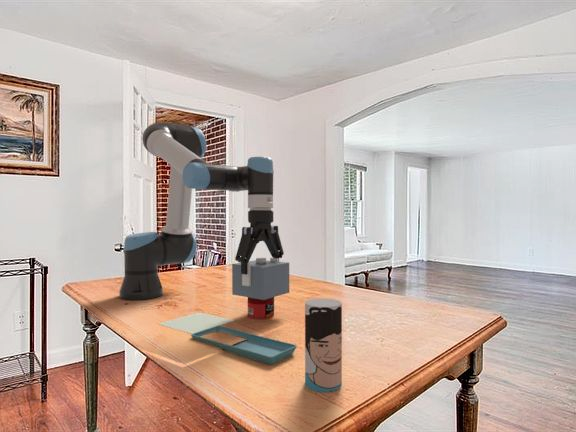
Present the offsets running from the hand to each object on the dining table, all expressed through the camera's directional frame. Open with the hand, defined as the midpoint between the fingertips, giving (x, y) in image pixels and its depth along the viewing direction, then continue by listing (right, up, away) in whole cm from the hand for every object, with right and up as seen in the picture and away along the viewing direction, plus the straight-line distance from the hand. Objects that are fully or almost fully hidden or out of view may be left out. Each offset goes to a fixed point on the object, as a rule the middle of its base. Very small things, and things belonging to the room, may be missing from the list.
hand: (261, 282), depth 116 cm
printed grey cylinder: (+14, -11, -44) cm, 48 cm away
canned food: (0, -11, 0) cm, 11 cm away
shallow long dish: (-3, -12, -25) cm, 28 cm away
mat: (-18, -11, -7) cm, 22 cm away
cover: (0, -3, 0) cm, 3 cm away
